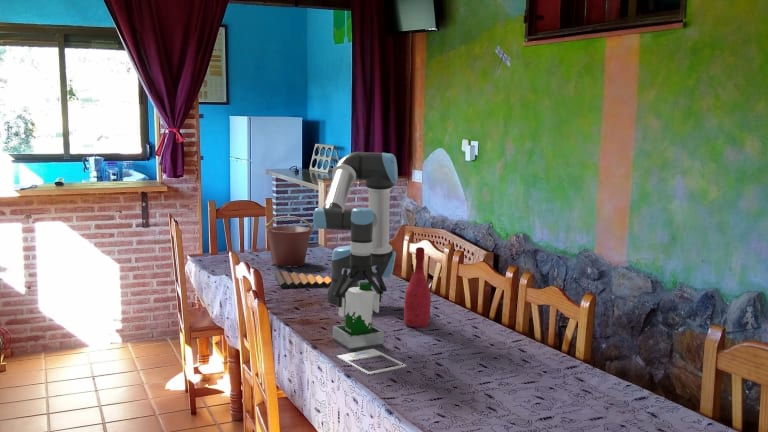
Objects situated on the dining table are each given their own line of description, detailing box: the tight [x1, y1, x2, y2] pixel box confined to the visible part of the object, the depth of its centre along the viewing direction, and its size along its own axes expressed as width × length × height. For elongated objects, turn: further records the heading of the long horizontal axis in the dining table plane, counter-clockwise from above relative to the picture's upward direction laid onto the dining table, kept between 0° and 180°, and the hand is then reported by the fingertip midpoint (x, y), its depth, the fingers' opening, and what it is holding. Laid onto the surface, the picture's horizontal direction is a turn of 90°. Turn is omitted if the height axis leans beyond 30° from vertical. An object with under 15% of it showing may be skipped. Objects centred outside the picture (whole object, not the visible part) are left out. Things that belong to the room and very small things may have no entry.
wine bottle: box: [403, 246, 432, 329], centre depth 266 cm, size 10×10×30 cm
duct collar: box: [332, 324, 385, 352], centre depth 243 cm, size 13×13×5 cm
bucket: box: [264, 215, 314, 268], centre depth 365 cm, size 24×22×25 cm
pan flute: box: [273, 269, 332, 289], centre depth 330 cm, size 25×3×25 cm
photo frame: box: [336, 348, 407, 375], centre depth 226 cm, size 15×1×18 cm
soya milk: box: [344, 281, 376, 336], centre depth 242 cm, size 9×9×20 cm
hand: (358, 313), depth 242 cm, fingers open, 13 cm apart
